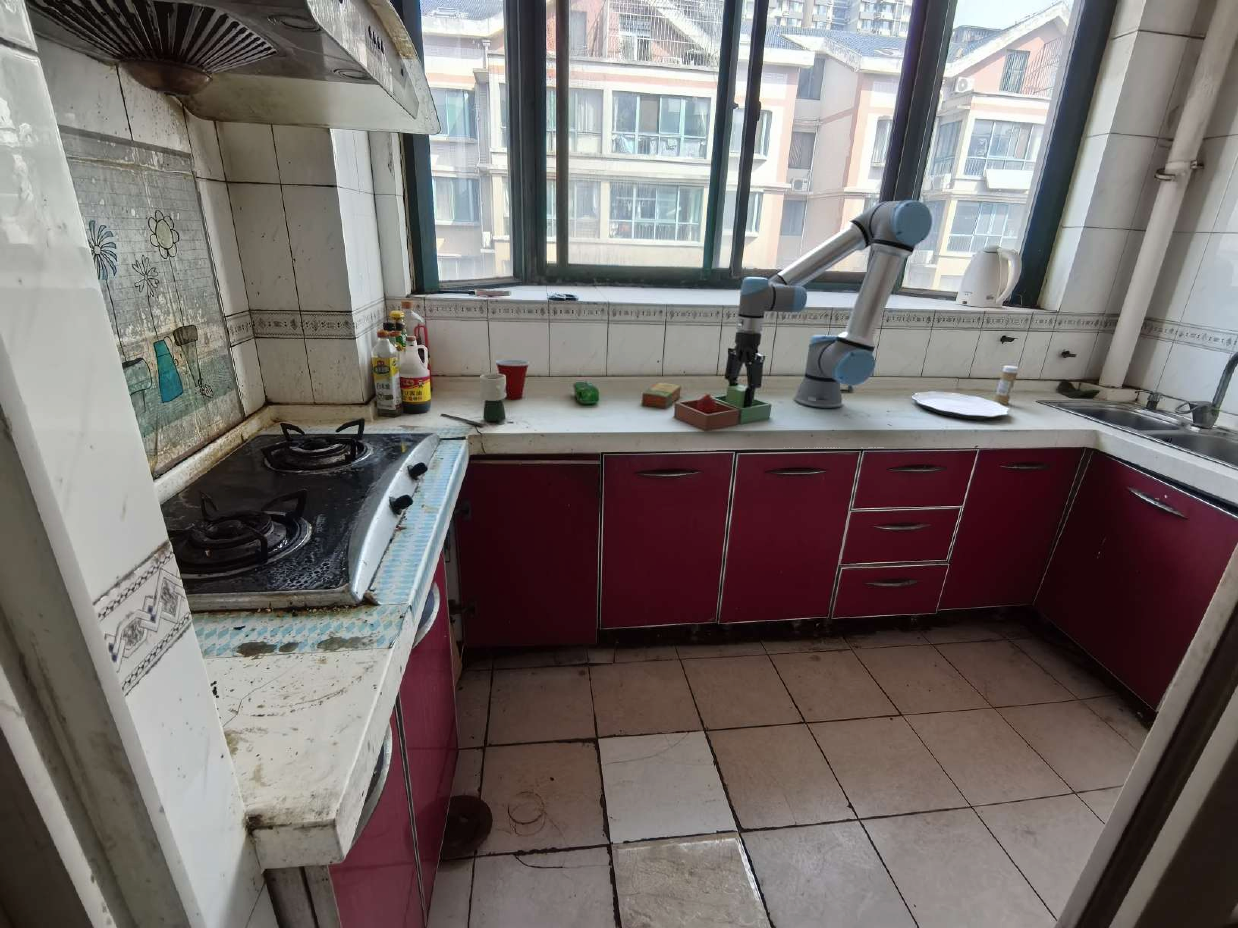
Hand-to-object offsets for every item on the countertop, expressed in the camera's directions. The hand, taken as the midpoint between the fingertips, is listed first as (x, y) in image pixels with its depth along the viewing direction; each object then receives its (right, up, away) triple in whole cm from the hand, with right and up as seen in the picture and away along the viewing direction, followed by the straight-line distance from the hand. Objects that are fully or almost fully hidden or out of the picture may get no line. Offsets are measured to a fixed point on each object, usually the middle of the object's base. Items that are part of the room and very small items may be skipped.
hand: (739, 405), depth 185 cm
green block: (0, 0, 0) cm, 0 cm away
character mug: (-74, -6, -15) cm, 75 cm away
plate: (+79, 0, +18) cm, 81 cm away
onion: (-12, -5, -7) cm, 14 cm away
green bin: (0, -3, +1) cm, 3 cm away
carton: (-24, +3, +12) cm, 27 cm away
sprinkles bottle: (+100, +4, +29) cm, 104 cm away
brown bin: (-12, -5, -6) cm, 14 cm away
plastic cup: (-72, +4, +8) cm, 73 cm away
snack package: (-49, +3, +9) cm, 50 cm away
